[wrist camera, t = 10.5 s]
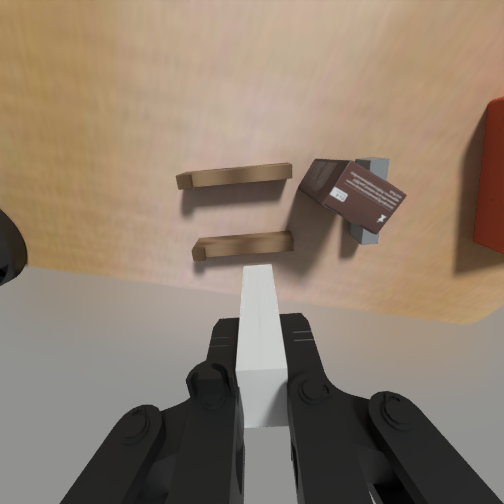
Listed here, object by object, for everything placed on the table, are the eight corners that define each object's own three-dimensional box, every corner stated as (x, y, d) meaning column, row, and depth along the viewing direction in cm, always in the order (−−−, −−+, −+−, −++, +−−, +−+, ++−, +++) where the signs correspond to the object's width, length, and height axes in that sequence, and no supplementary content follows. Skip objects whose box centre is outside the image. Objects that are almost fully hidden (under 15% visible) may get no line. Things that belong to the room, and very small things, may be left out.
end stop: (349, 234, 33) (361, 244, 30) (356, 158, 29) (370, 160, 26) (364, 233, 33) (377, 243, 30) (372, 157, 29) (389, 158, 26)
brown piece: (200, 247, 34) (193, 261, 30) (186, 172, 30) (175, 175, 26) (289, 240, 34) (294, 253, 30) (287, 162, 30) (293, 165, 25)
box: (354, 178, 30) (410, 195, 19) (333, 208, 32) (374, 240, 21) (315, 154, 29) (352, 158, 18) (295, 186, 31) (318, 208, 20)
